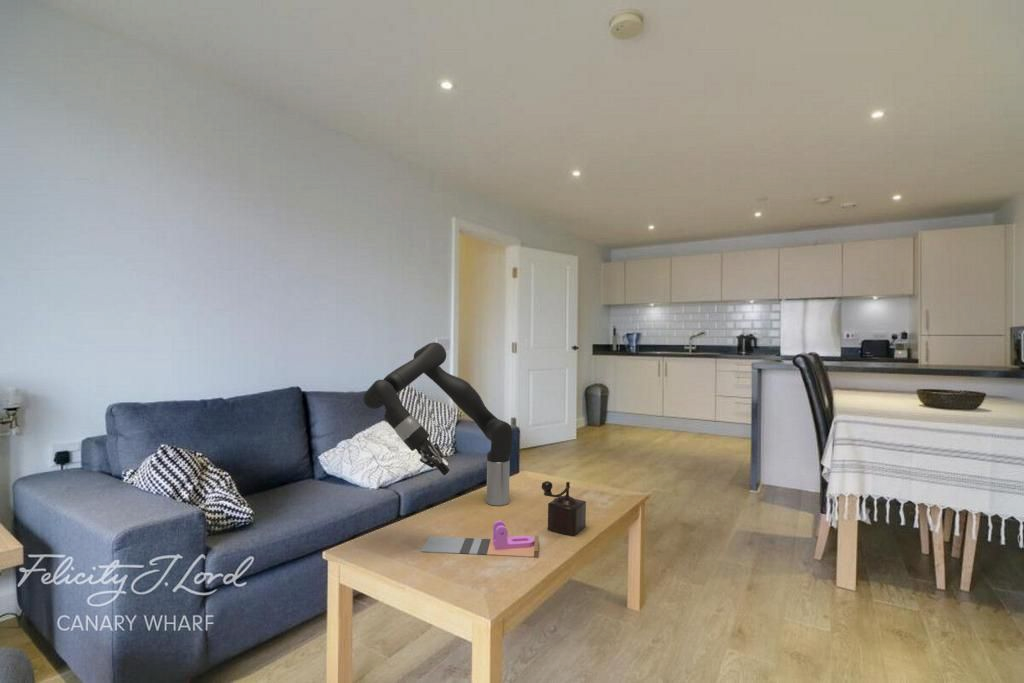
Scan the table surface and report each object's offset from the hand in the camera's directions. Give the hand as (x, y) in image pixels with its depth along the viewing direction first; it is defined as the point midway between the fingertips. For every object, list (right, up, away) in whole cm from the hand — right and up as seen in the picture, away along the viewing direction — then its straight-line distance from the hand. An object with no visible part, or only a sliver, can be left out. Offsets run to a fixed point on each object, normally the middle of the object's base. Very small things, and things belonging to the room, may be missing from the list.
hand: (447, 473), depth 153 cm
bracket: (+22, -23, 0) cm, 32 cm away
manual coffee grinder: (+39, -24, +12) cm, 47 cm away
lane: (+12, -23, -2) cm, 26 cm away
